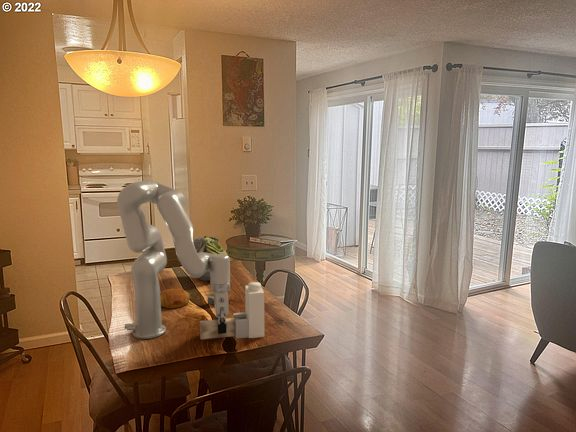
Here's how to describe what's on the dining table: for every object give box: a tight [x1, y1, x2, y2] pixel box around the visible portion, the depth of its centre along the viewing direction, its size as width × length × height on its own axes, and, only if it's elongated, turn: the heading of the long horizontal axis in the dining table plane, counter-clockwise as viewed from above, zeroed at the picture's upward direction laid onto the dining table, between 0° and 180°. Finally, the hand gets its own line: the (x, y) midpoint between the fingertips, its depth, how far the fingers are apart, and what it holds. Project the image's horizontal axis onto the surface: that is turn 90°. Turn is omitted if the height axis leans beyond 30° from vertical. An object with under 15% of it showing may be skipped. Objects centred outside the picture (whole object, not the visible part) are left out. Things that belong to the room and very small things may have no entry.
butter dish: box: [204, 290, 214, 305], centre depth 197 cm, size 12×18×7 cm, turn 95°
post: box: [233, 281, 265, 339], centre depth 166 cm, size 11×10×20 cm
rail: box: [199, 317, 246, 340], centre depth 164 cm, size 18×4×6 cm, turn 103°
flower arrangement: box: [193, 235, 228, 282], centre depth 234 cm, size 25×25×24 cm
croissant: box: [160, 287, 191, 309], centre depth 198 cm, size 14×16×8 cm
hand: (221, 328), depth 164 cm, fingers open, 9 cm apart
